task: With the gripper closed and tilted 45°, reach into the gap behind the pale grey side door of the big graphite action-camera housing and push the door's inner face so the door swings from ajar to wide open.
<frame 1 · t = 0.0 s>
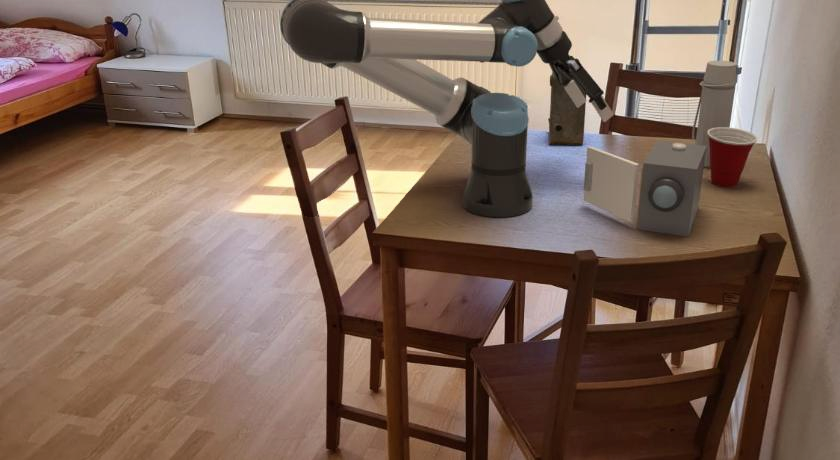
hand: (594, 110, 183), 15 cm above the table, fingers open, 13 cm apart
plastic cup: (724, 184, 181), on the table
side door: (608, 183, 160), point 8 cm above the table, hinge at 55.0°
vintage camera: (563, 138, 216), on the table
video game controller: (511, 158, 201), on the table
water bottle: (704, 164, 194), on the table
camera housing: (668, 218, 162), on the table
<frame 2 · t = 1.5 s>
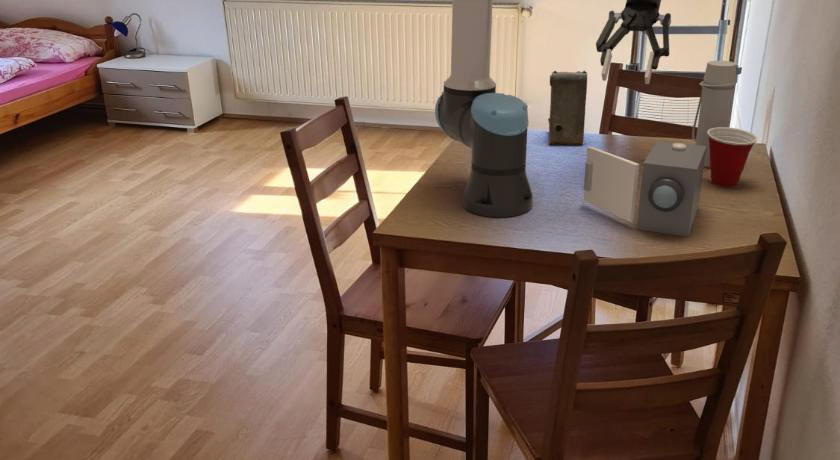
hand: (624, 78, 171), 25 cm above the table, fingers open, 9 cm apart
nothing on the table moved.
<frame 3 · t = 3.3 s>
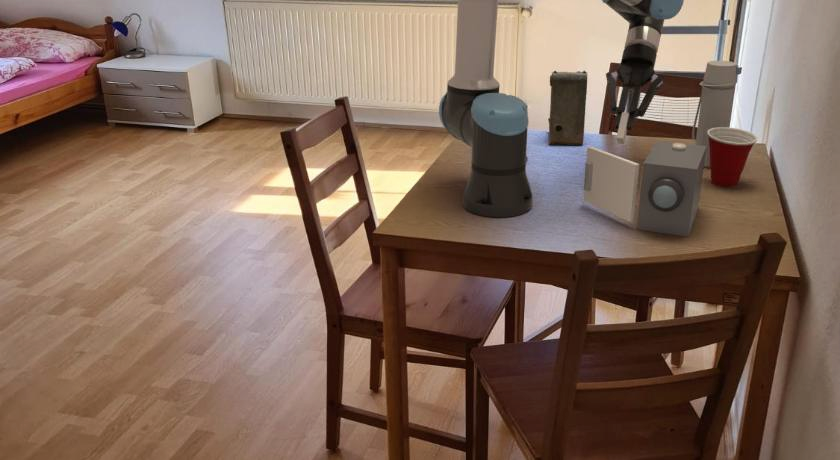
hand: (620, 140, 173), 12 cm above the table, fingers closed
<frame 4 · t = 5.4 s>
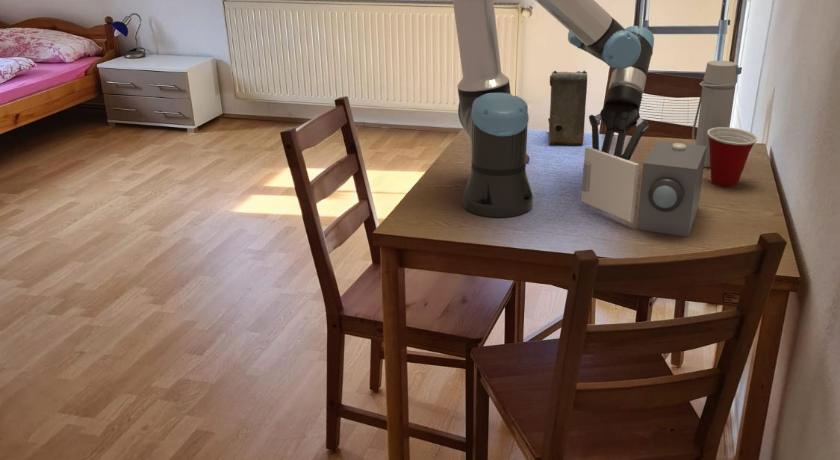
hand: (603, 189, 165), 5 cm above the table, fingers closed
side door: (607, 184, 160), point 7 cm above the table, hinge at 57.8°, touching gripper
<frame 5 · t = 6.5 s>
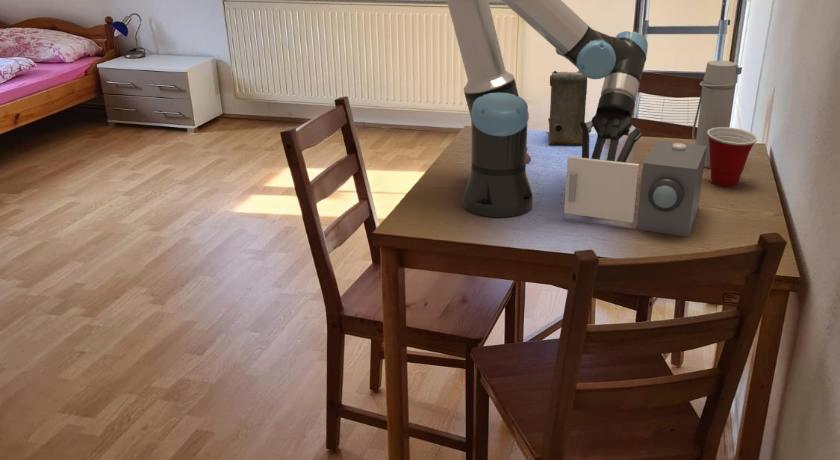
hand: (593, 198, 160), 5 cm above the table, fingers closed, pressing on side door
side door: (600, 190, 157), point 8 cm above the table, hinge at 91.2°, touching gripper
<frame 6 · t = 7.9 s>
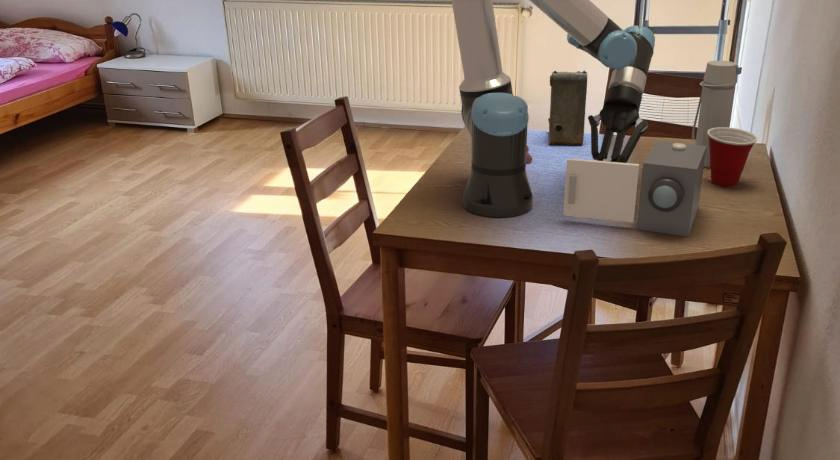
hand: (601, 189, 163), 5 cm above the table, fingers closed
side door: (600, 191, 156), point 8 cm above the table, hinge at 96.5°
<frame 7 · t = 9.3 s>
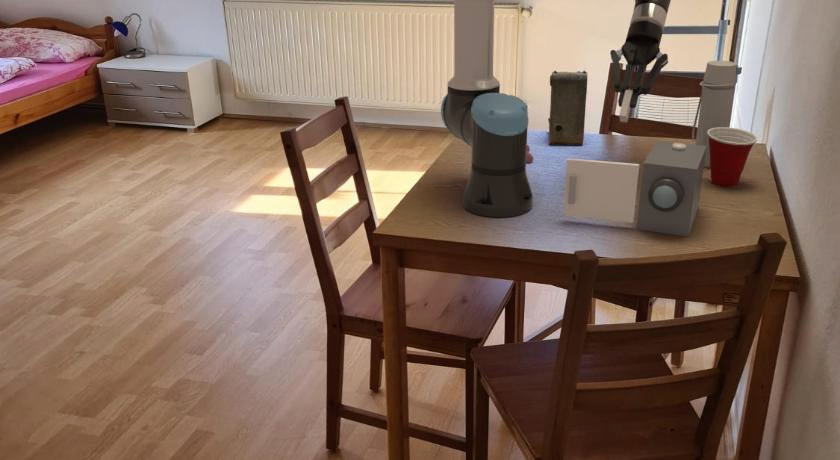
hand: (623, 118, 170), 17 cm above the table, fingers closed
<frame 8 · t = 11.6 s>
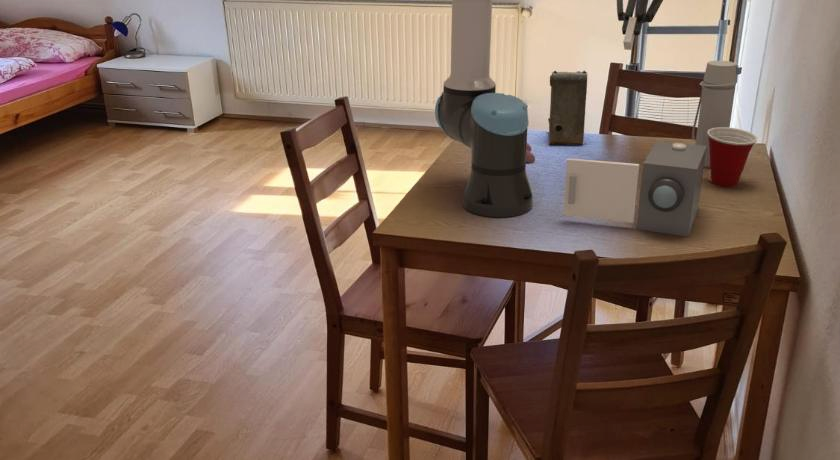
hand: (627, 45, 168), 32 cm above the table, fingers closed
at the end: side door at +96° (first picture: +55°) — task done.
